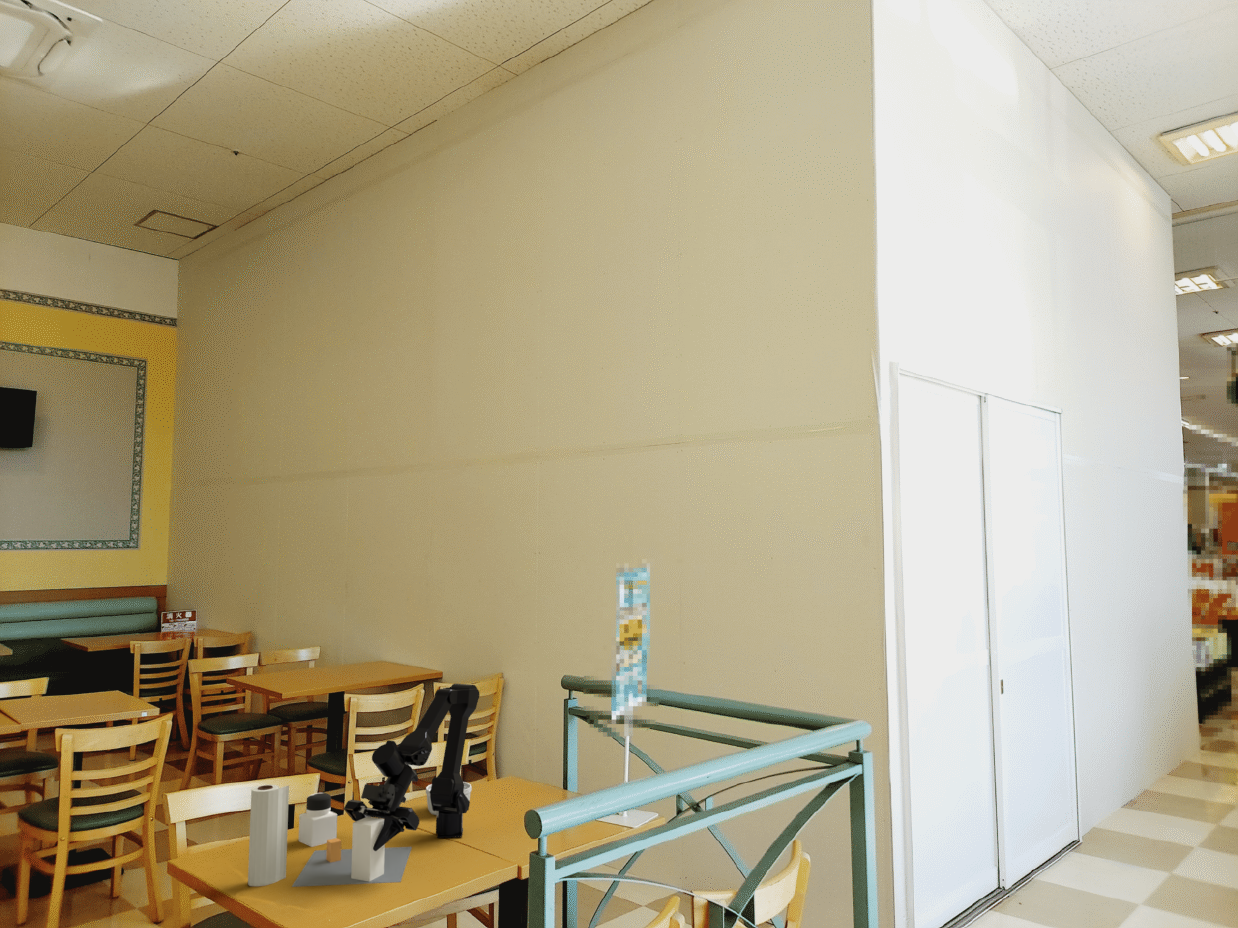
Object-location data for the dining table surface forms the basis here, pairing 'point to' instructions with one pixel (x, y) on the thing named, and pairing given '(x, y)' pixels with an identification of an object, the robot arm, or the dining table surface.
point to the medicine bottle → (317, 821)
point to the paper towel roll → (268, 834)
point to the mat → (350, 868)
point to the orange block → (333, 850)
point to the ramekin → (466, 791)
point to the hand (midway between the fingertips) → (364, 848)
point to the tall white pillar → (367, 849)
